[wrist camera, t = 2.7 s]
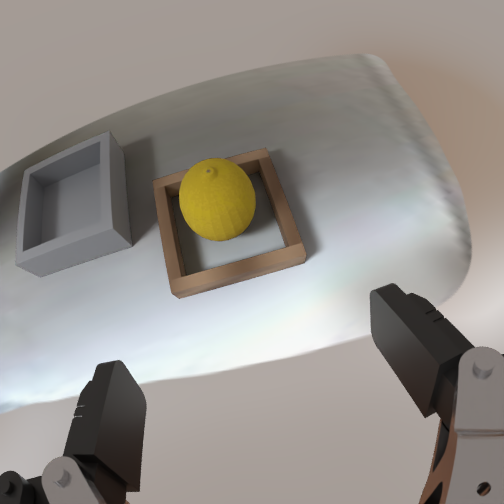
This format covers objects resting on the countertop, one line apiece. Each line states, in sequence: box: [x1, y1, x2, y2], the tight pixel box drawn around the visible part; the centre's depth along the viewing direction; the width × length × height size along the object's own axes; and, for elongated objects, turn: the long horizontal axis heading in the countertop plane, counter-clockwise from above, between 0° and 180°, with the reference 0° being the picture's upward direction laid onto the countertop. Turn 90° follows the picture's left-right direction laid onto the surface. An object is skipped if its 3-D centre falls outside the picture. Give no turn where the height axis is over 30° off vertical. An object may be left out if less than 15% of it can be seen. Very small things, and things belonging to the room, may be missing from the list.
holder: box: [15, 130, 132, 277], centre depth 27 cm, size 11×11×4 cm
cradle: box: [152, 148, 307, 299], centre depth 26 cm, size 10×10×2 cm
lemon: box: [179, 158, 256, 241], centre depth 23 cm, size 6×6×8 cm
